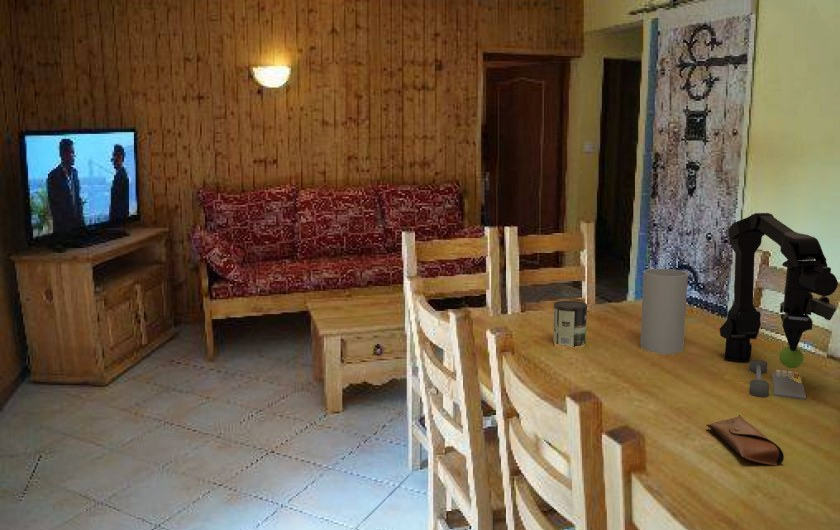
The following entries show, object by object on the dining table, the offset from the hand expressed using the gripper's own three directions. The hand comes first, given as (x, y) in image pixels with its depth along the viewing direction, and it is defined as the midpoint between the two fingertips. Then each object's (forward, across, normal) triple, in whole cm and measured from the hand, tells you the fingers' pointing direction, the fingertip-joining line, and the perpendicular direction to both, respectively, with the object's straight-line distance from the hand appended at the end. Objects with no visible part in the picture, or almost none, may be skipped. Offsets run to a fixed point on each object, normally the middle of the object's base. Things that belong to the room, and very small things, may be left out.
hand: (792, 347), depth 176 cm
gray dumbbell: (+12, +3, +7) cm, 15 cm away
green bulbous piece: (+6, +1, 0) cm, 6 cm away
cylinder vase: (+13, +24, +33) cm, 43 cm away
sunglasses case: (+13, -40, +12) cm, 43 cm away
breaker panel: (+12, +3, 0) cm, 13 cm away
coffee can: (+13, +18, +60) cm, 64 cm away
